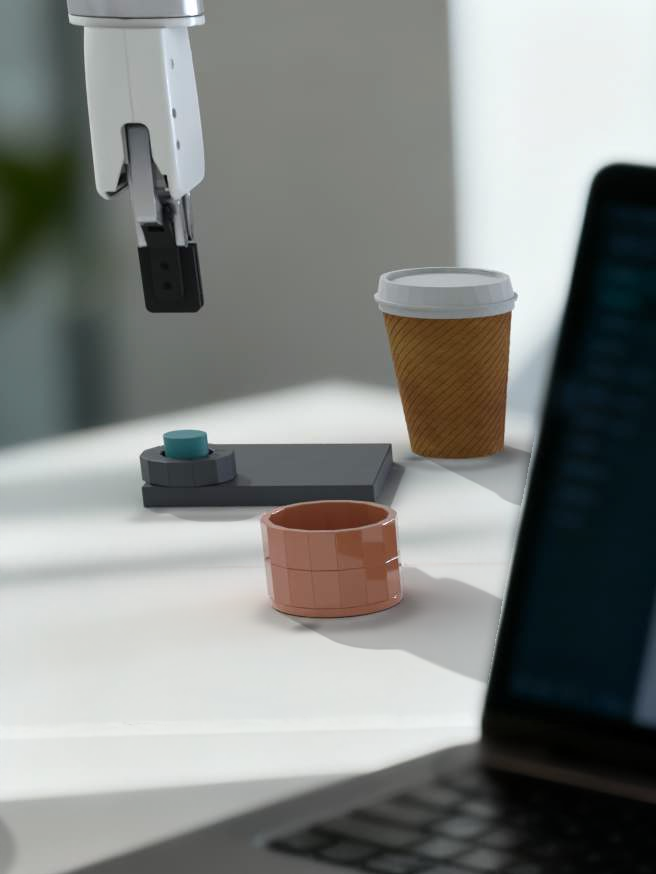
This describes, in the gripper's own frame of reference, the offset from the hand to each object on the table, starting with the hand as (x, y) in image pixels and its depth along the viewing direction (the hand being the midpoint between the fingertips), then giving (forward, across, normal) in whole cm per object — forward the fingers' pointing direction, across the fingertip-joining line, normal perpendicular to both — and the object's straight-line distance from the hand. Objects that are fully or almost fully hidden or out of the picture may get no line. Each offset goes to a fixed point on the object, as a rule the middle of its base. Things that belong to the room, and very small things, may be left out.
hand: (175, 309), depth 148 cm
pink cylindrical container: (+12, +24, +11) cm, 29 cm away
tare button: (+9, 0, 0) cm, 9 cm away
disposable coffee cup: (+12, -13, +15) cm, 24 cm away
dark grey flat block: (+12, -3, +4) cm, 13 cm away
